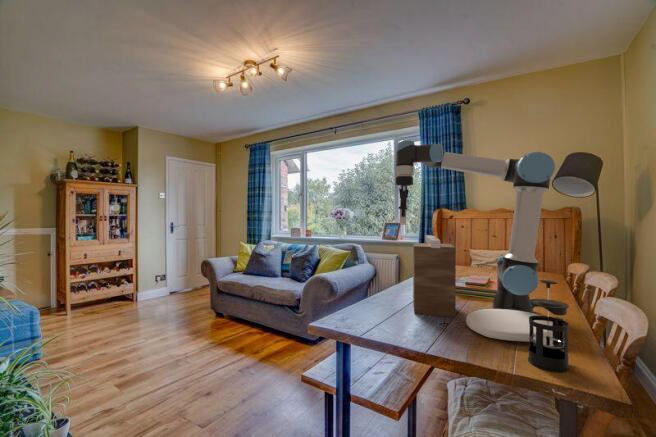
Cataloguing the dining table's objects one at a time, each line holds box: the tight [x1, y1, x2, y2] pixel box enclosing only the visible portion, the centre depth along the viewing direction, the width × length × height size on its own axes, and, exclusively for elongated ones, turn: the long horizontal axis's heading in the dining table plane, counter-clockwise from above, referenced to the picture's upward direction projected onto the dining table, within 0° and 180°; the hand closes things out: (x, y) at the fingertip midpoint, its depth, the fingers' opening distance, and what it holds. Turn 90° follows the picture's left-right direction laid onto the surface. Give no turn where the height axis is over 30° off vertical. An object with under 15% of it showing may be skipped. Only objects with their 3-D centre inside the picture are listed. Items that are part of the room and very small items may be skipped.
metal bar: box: [425, 234, 441, 248], centre depth 139 cm, size 32×4×3 cm, turn 166°
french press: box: [527, 279, 571, 373], centre depth 86 cm, size 12×9×23 cm
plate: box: [465, 308, 553, 343], centre depth 110 cm, size 28×6×27 cm
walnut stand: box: [412, 242, 457, 318], centre depth 135 cm, size 16×16×28 cm
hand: (402, 224), depth 139 cm, fingers open, 13 cm apart
